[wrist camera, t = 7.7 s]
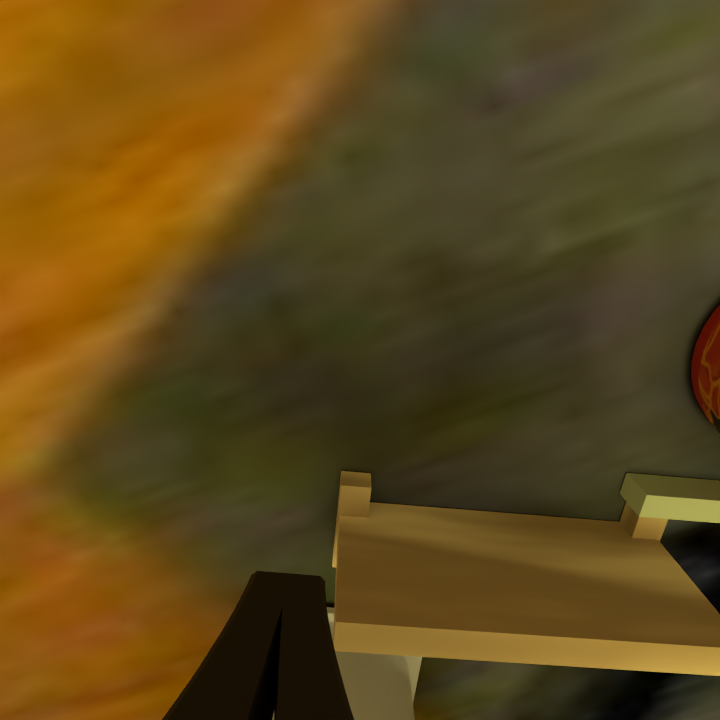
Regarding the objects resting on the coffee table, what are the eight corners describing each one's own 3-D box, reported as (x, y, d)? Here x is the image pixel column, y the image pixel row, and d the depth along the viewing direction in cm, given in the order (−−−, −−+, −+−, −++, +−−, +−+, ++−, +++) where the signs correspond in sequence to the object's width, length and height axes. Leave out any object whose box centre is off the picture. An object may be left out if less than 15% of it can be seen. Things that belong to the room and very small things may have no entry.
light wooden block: (628, 571, 22) (722, 706, 17) (333, 549, 22) (325, 682, 16) (657, 496, 21) (769, 616, 15) (341, 470, 20) (336, 585, 15)
